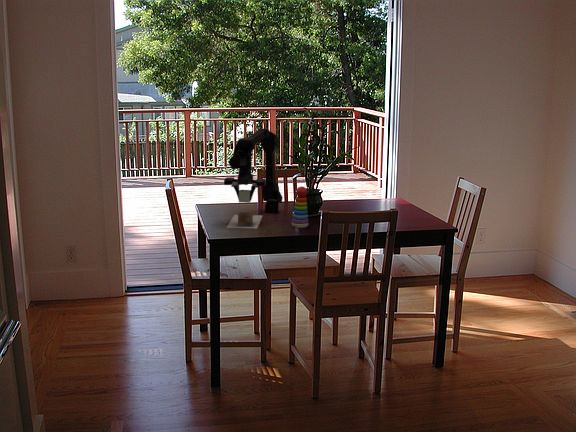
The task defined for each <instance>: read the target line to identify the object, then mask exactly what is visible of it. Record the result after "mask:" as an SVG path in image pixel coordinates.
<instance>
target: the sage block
mask: <svg viewBox="0 0 576 432" xmlns="http://www.w3.org/2000/svg"><path fill="white" fill-rule="evenodd" d="M239 190H240V191H239V200H238V203H251V202H252V199H251V200H250V194H251V189H239Z"/></svg>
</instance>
